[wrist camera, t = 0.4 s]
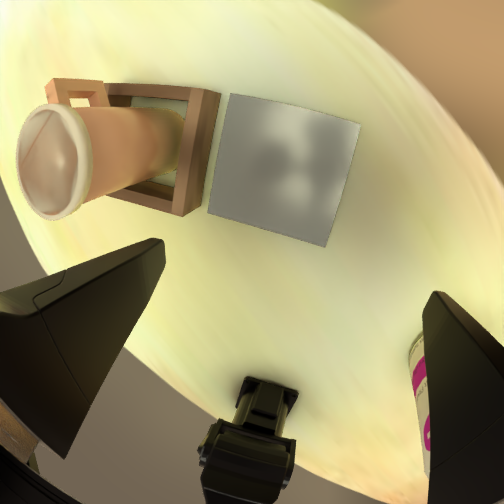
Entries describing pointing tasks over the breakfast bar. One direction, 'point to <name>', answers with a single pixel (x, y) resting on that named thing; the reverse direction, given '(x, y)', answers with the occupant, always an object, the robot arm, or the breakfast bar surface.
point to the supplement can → (421, 398)
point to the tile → (282, 167)
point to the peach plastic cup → (90, 147)
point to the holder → (191, 149)
